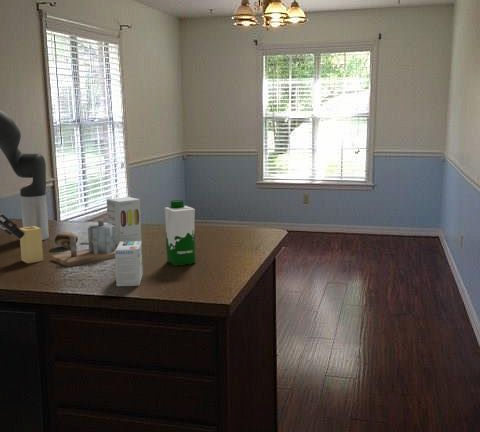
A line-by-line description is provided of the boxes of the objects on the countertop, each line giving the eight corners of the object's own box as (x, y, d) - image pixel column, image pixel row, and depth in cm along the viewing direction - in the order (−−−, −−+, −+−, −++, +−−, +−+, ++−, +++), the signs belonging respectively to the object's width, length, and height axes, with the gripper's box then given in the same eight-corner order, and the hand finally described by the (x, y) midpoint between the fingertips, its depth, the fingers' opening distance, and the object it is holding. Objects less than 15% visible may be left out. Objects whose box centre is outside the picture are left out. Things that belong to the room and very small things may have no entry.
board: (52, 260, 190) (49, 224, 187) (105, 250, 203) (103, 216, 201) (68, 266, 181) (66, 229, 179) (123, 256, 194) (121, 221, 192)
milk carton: (188, 257, 191) (186, 199, 187) (199, 264, 183) (197, 202, 179) (163, 261, 187) (161, 201, 183) (173, 267, 179) (171, 204, 175)
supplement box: (119, 247, 207) (117, 201, 204) (107, 243, 214) (105, 198, 211) (142, 243, 213) (140, 198, 210) (129, 239, 220) (127, 196, 217)
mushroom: (69, 242, 201) (67, 226, 204) (50, 249, 203) (49, 234, 206) (83, 248, 208) (81, 233, 211) (65, 255, 210) (63, 240, 213)
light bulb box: (120, 276, 170) (118, 241, 168) (143, 275, 171) (141, 240, 169) (115, 286, 160) (114, 249, 158) (140, 286, 160) (138, 248, 158)
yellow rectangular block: (21, 260, 189) (19, 228, 187) (36, 257, 193) (34, 226, 191) (27, 263, 185) (25, 230, 184) (43, 260, 189) (40, 228, 187)
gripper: (-7, 196, 171) (33, 228, 181) (-23, 191, 182) (16, 222, 191) (-24, 215, 169) (18, 247, 178) (-39, 210, 179) (1, 240, 189)
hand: (17, 234), depth 185 cm, fingers open, 8 cm apart
